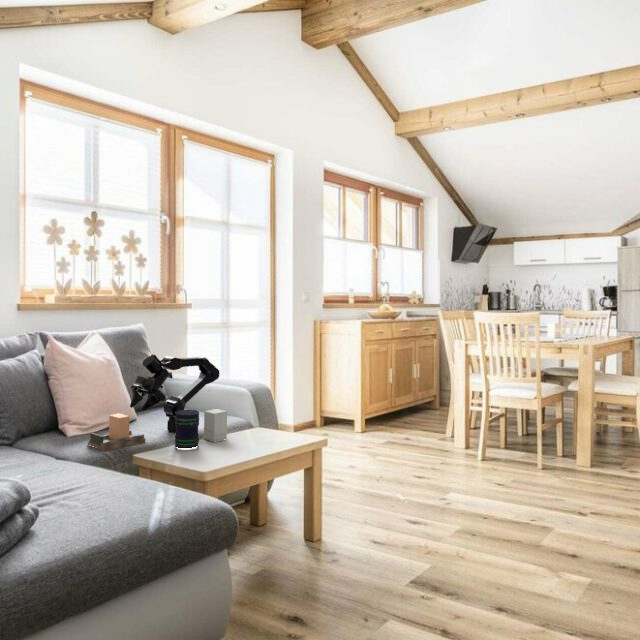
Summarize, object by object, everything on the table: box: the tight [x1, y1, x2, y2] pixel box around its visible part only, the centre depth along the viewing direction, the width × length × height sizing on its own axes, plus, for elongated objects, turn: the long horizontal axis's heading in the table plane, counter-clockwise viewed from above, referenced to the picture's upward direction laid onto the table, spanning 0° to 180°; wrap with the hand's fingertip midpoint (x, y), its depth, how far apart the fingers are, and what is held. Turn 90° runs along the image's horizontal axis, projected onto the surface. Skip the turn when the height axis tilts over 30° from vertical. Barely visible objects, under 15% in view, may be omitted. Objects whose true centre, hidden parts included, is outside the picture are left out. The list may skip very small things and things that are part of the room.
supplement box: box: [203, 408, 228, 442], centre depth 284 cm, size 7×7×13 cm
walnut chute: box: [87, 429, 147, 452], centre depth 273 cm, size 20×12×6 cm, turn 141°
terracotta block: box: [108, 413, 130, 440], centre depth 273 cm, size 5×7×10 cm
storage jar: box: [174, 409, 200, 448], centre depth 270 cm, size 10×10×15 cm
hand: (136, 408), depth 280 cm, fingers open, 8 cm apart
